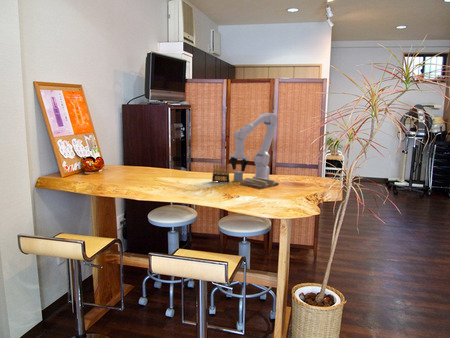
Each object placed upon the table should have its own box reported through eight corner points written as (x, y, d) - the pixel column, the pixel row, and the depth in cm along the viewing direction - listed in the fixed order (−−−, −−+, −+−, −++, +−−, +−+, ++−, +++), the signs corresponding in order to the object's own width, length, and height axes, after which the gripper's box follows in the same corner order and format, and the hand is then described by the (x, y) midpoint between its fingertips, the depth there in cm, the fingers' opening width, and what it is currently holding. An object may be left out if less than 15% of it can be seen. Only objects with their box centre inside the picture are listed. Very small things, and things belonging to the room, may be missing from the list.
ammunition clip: (212, 181, 235) (212, 163, 233) (212, 181, 237) (213, 162, 235) (228, 183, 233) (229, 164, 231) (229, 182, 235) (230, 163, 233)
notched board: (258, 180, 244) (258, 175, 243) (278, 185, 233) (278, 179, 232) (240, 184, 231) (240, 178, 230) (260, 189, 220) (260, 183, 219)
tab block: (237, 180, 244) (238, 171, 243) (242, 181, 241) (242, 172, 240) (233, 180, 241) (234, 171, 240) (238, 181, 238) (238, 172, 237)
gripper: (226, 148, 240) (226, 169, 242) (243, 150, 230) (242, 172, 232) (234, 147, 245) (233, 168, 247) (251, 150, 235) (250, 171, 237)
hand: (238, 170), depth 240 cm, fingers open, 7 cm apart
